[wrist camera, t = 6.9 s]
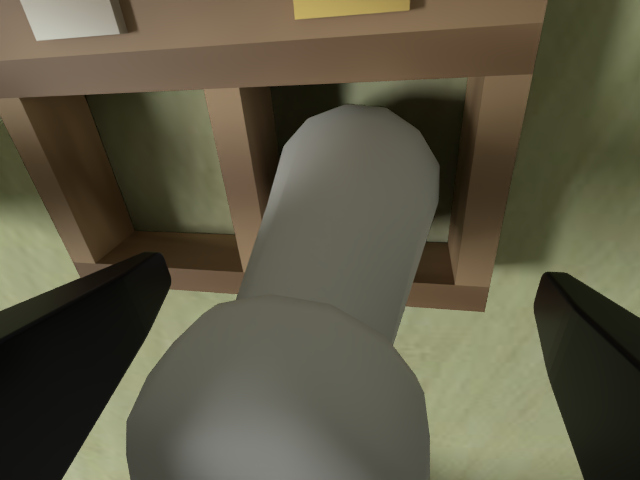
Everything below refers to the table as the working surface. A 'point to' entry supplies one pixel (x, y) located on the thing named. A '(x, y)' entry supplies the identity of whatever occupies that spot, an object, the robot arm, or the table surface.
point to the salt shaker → (307, 325)
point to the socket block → (260, 112)
